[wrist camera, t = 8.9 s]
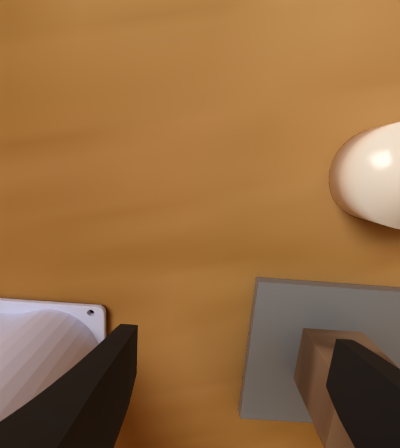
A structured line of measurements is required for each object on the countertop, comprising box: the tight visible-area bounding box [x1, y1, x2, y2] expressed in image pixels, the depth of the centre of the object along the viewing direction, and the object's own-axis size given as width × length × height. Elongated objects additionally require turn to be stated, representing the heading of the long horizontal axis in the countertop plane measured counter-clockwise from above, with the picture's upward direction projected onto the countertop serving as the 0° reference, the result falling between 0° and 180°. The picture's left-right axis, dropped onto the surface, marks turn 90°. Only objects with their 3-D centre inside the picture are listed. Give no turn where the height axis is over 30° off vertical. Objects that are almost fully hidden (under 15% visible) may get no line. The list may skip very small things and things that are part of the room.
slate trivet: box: [238, 277, 400, 423], centre depth 19 cm, size 12×12×1 cm
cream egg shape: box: [329, 122, 400, 229], centre depth 15 cm, size 6×6×4 cm
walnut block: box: [294, 328, 398, 448], centre depth 16 cm, size 4×4×5 cm
